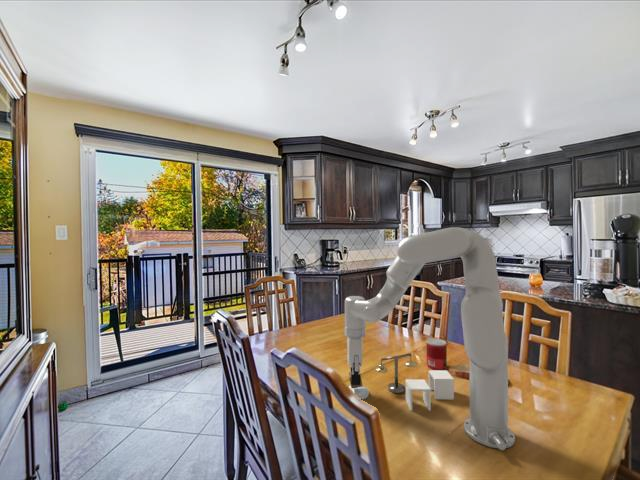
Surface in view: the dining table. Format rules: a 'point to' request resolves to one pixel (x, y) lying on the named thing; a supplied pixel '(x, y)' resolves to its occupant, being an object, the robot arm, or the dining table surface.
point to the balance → (395, 386)
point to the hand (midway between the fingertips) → (355, 380)
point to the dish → (360, 392)
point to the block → (354, 385)
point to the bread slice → (461, 371)
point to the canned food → (436, 354)
